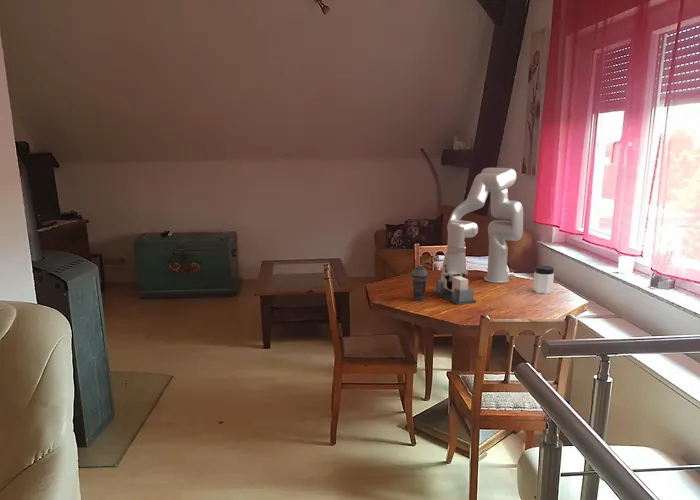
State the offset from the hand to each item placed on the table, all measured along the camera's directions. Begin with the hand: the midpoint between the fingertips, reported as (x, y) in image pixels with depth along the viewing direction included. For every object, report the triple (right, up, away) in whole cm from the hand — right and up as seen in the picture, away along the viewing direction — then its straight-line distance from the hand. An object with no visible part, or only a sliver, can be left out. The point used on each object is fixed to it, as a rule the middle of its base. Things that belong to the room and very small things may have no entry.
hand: (453, 288), depth 244 cm
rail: (0, -1, 0) cm, 1 cm away
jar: (+45, -3, +11) cm, 47 cm away
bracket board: (0, -4, +1) cm, 4 cm away
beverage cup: (-17, -5, -3) cm, 18 cm away
